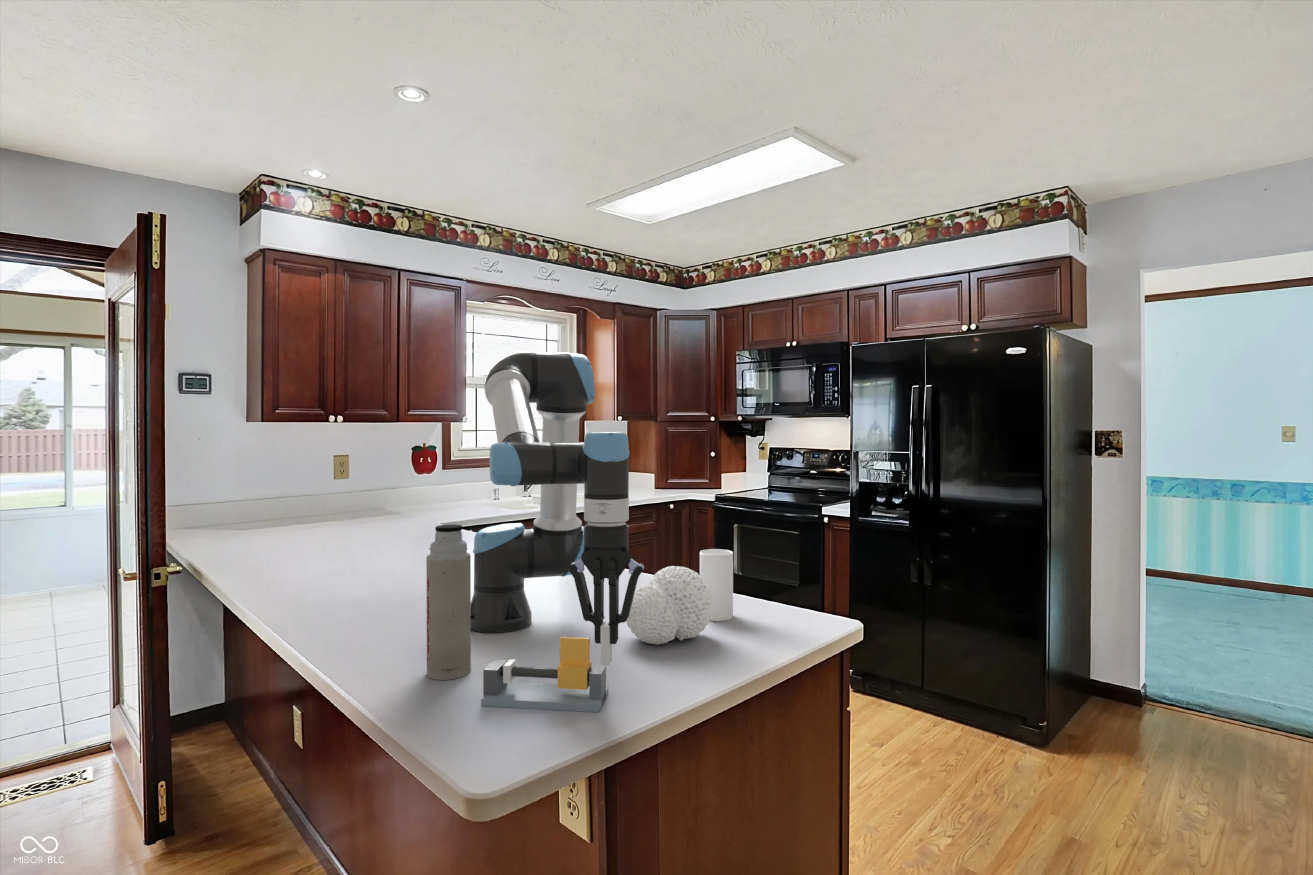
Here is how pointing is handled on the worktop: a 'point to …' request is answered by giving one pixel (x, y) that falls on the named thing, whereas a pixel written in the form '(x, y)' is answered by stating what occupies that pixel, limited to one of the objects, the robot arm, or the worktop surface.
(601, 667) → the rail rig
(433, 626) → the thermos bottle
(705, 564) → the cup
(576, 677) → the yellow sliding carriage
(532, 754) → the worktop surface
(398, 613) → the worktop surface
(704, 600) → the white coral
